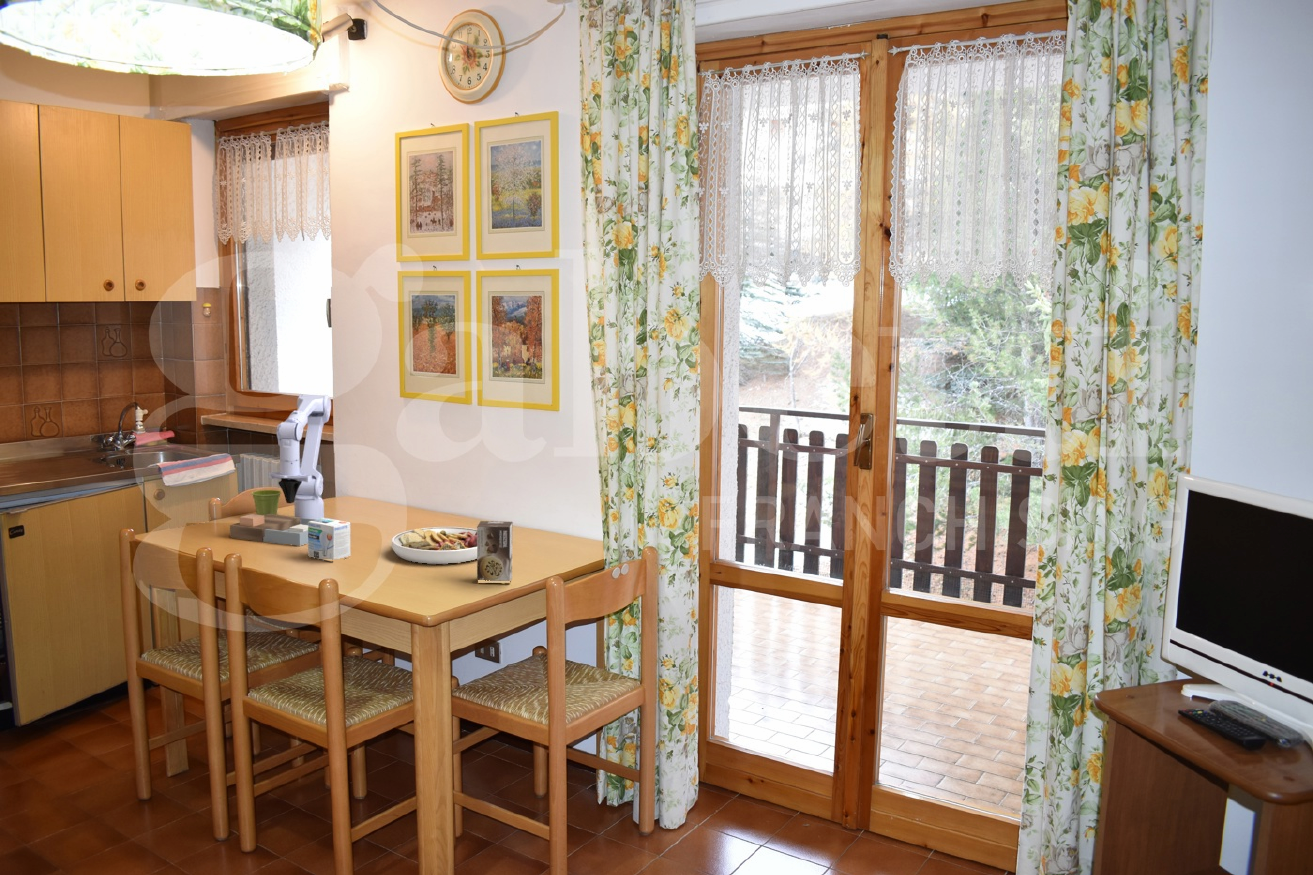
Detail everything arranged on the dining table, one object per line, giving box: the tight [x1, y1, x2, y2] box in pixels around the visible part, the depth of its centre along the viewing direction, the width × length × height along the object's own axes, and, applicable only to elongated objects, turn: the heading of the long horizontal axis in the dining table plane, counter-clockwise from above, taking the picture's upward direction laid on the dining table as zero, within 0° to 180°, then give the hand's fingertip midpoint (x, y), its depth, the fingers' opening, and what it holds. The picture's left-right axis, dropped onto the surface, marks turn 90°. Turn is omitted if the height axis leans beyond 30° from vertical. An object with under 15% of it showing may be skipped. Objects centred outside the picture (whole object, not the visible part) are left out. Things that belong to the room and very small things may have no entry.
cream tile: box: [290, 524, 308, 533], centre depth 299 cm, size 5×5×2 cm
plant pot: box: [251, 489, 282, 515], centre depth 322 cm, size 9×9×9 cm
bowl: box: [391, 526, 477, 565], centre depth 284 cm, size 30×30×8 cm
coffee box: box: [476, 520, 514, 581], centre depth 257 cm, size 9×6×16 cm
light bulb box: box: [307, 517, 351, 560], centre depth 275 cm, size 11×7×11 cm, turn 62°
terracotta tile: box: [239, 513, 264, 527], centre depth 295 cm, size 5×5×2 cm
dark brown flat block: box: [229, 514, 300, 543], centre depth 300 cm, size 18×12×4 cm, turn 163°
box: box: [263, 518, 318, 547], centre depth 296 cm, size 18×13×4 cm
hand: (290, 502), depth 298 cm, fingers closed
